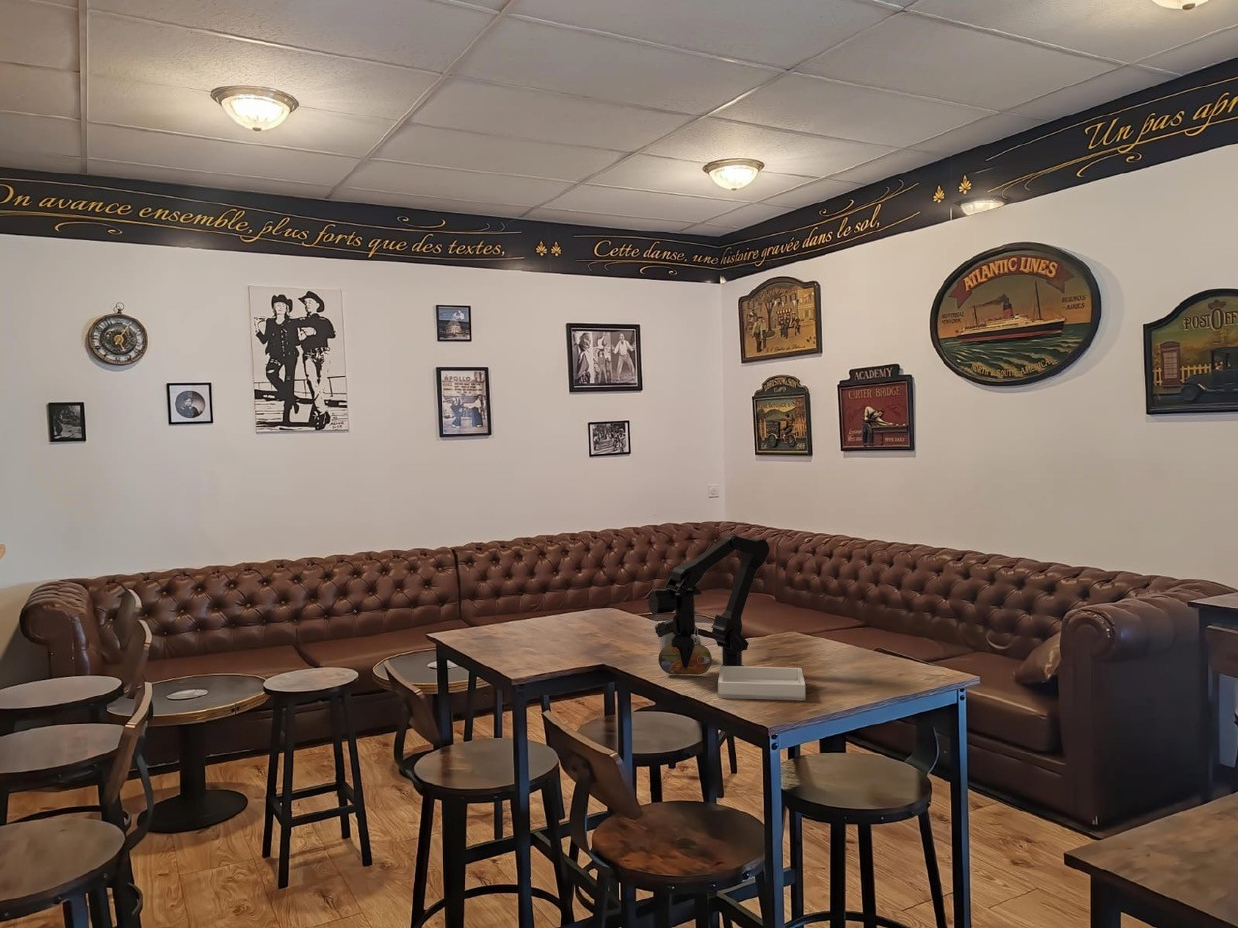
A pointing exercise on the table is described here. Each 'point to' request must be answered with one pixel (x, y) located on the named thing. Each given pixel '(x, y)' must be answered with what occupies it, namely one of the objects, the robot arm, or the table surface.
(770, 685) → the tray
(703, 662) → the tin
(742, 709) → the table surface
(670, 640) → the coffee mug
